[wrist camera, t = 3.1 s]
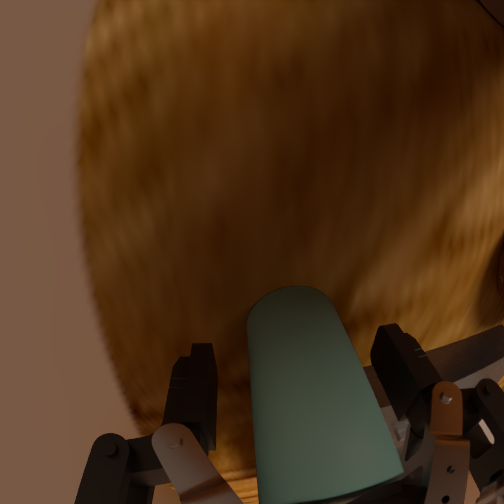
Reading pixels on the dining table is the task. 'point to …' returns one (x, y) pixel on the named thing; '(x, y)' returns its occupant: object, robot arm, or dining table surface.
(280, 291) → the peg
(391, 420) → the housing
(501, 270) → the bread roll
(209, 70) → the dining table surface
